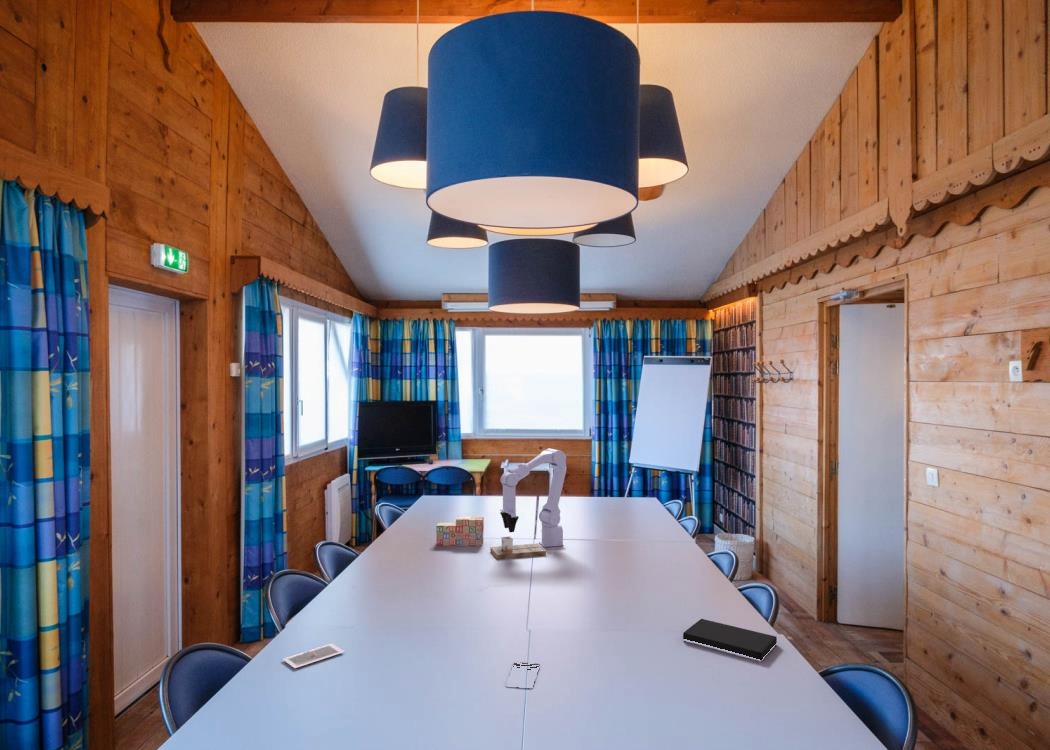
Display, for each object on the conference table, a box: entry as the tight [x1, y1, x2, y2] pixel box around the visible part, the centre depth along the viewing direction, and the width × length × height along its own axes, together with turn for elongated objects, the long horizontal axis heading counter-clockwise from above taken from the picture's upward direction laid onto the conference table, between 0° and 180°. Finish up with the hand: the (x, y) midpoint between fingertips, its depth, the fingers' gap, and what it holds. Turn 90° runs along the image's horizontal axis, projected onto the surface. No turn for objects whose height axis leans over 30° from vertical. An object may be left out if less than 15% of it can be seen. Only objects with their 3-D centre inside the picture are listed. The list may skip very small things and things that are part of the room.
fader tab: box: [501, 536, 514, 551], centre depth 288 cm, size 4×4×5 cm
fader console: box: [489, 543, 547, 560], centre depth 290 cm, size 22×12×3 cm, turn 106°
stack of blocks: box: [435, 516, 485, 547], centre depth 305 cm, size 21×6×12 cm, turn 87°
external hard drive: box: [682, 618, 778, 660], centre depth 196 cm, size 14×23×3 cm, turn 53°
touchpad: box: [282, 642, 346, 669], centre depth 185 cm, size 8×15×2 cm, turn 134°
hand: (509, 529), depth 294 cm, fingers open, 7 cm apart
